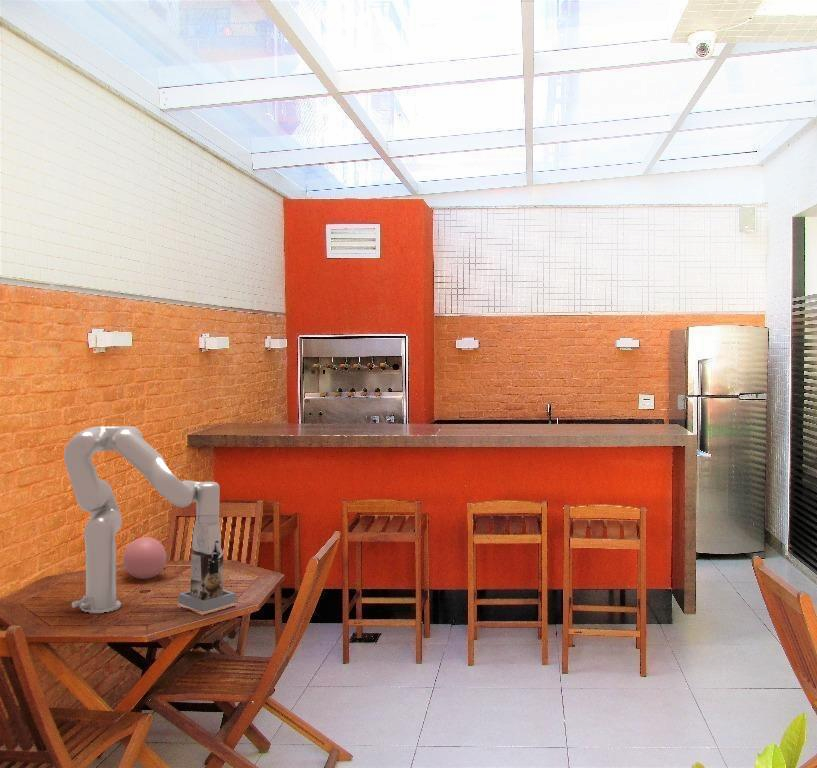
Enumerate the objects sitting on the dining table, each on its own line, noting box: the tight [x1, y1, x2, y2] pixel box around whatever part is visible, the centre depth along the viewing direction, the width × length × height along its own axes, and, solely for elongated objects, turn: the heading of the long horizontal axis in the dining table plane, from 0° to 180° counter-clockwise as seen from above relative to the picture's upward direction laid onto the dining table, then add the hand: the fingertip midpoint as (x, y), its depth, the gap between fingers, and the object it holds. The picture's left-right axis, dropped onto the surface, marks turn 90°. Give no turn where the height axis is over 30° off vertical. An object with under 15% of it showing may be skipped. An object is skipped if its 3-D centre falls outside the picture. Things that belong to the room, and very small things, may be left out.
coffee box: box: [189, 552, 224, 600], centre depth 289 cm, size 9×6×16 cm
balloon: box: [122, 536, 167, 580], centre depth 322 cm, size 15×20×15 cm
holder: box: [178, 589, 237, 612], centre depth 289 cm, size 13×13×4 cm
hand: (206, 570), depth 288 cm, fingers closed on coffee box, 6 cm apart
